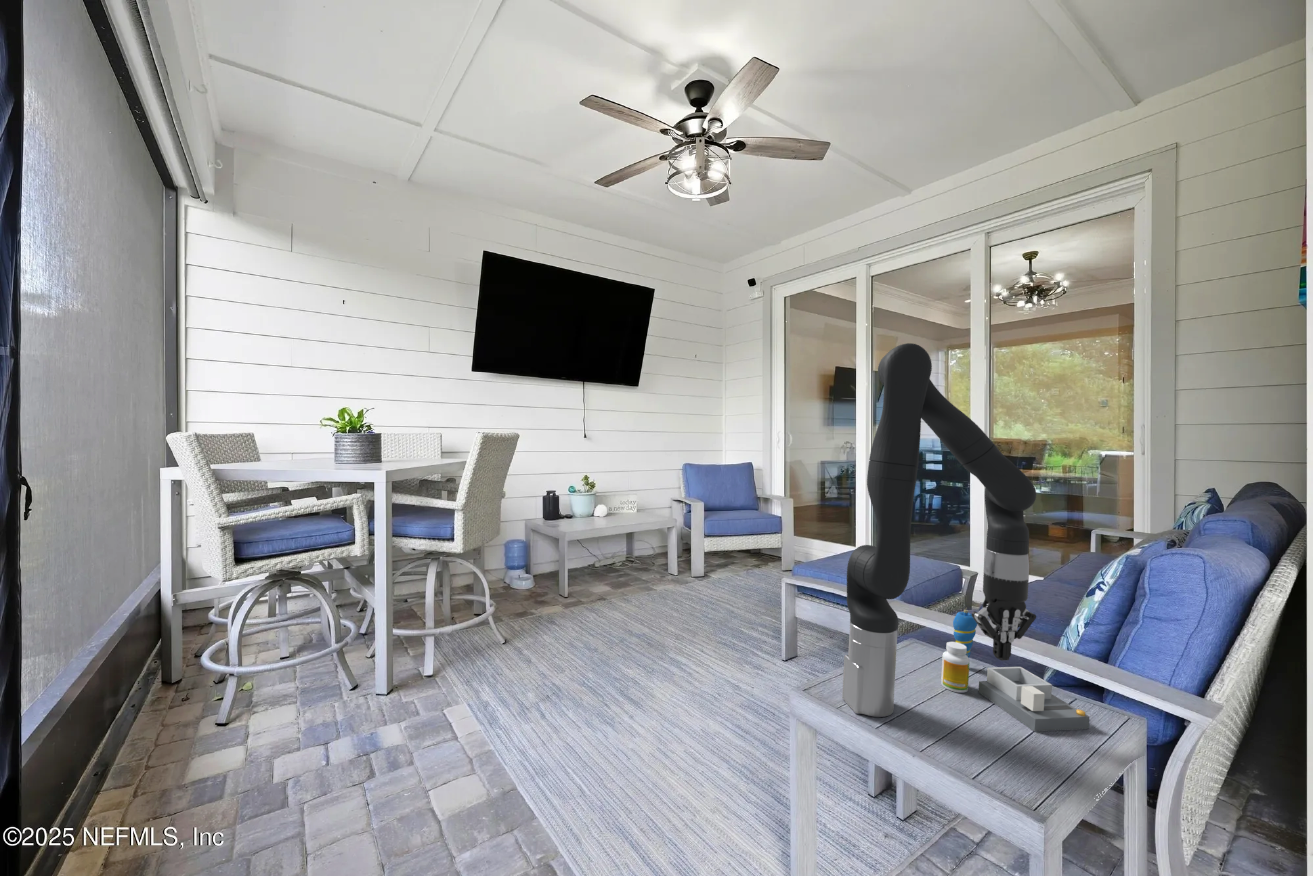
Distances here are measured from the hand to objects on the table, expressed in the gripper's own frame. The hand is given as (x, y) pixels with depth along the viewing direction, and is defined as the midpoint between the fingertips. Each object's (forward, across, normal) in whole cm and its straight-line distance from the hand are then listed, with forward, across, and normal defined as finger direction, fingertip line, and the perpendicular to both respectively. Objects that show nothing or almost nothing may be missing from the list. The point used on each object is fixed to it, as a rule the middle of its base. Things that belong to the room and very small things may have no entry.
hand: (1001, 658), depth 107 cm
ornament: (+13, +10, +23) cm, 28 cm away
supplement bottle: (+13, +1, +14) cm, 19 cm away
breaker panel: (+13, +11, +4) cm, 17 cm away
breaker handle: (+10, +7, 0) cm, 12 cm away
